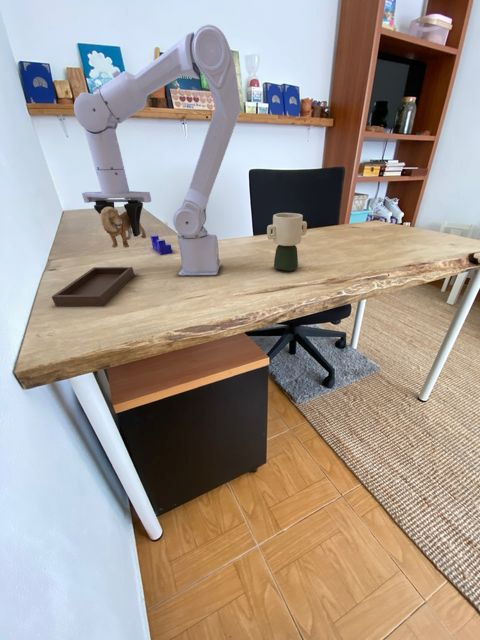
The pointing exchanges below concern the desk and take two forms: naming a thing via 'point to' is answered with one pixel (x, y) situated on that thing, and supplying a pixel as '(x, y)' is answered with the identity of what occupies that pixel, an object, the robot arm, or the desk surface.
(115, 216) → the lion figurine
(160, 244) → the cable holder
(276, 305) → the desk surface
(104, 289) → the brown rectangular tray
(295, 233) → the beige and green trophy
